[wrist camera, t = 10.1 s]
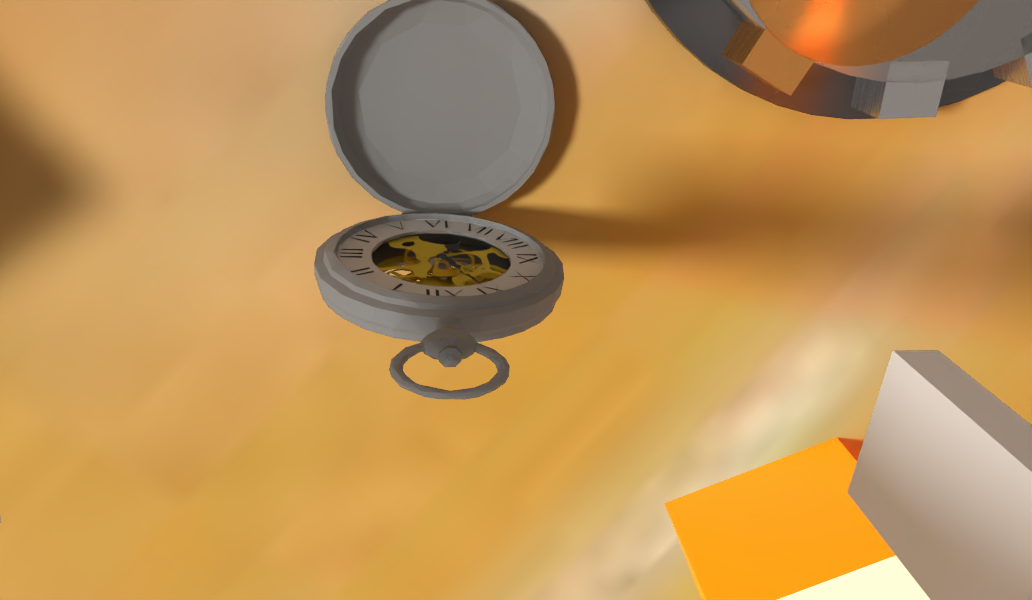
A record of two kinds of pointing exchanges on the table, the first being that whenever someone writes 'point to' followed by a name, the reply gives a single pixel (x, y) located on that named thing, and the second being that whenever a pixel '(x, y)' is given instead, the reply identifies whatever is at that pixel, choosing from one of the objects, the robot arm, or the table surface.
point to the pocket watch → (439, 181)
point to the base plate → (823, 91)
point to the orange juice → (788, 535)
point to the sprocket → (884, 46)
